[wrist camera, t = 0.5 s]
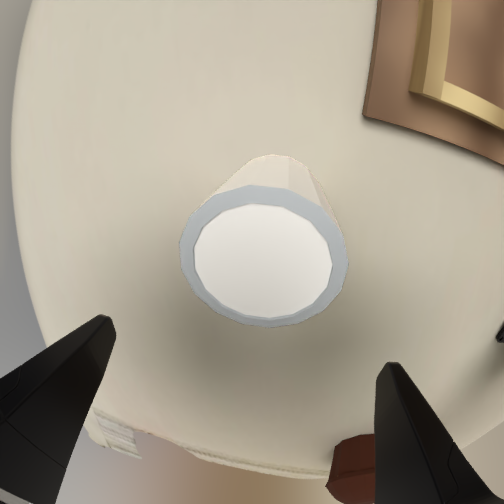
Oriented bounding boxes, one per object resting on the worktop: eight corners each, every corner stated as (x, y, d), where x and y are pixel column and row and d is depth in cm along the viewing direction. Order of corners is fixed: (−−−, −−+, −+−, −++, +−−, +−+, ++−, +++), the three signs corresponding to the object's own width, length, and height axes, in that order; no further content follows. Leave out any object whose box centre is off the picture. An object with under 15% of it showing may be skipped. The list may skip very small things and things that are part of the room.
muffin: (362, 459, 39) (362, 509, 31) (311, 450, 37) (307, 508, 29) (417, 433, 33) (423, 491, 24) (367, 423, 31) (370, 494, 23)
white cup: (208, 150, 17) (158, 195, 11) (329, 139, 15) (350, 180, 9) (228, 252, 20) (199, 328, 14) (333, 247, 19) (344, 327, 13)
